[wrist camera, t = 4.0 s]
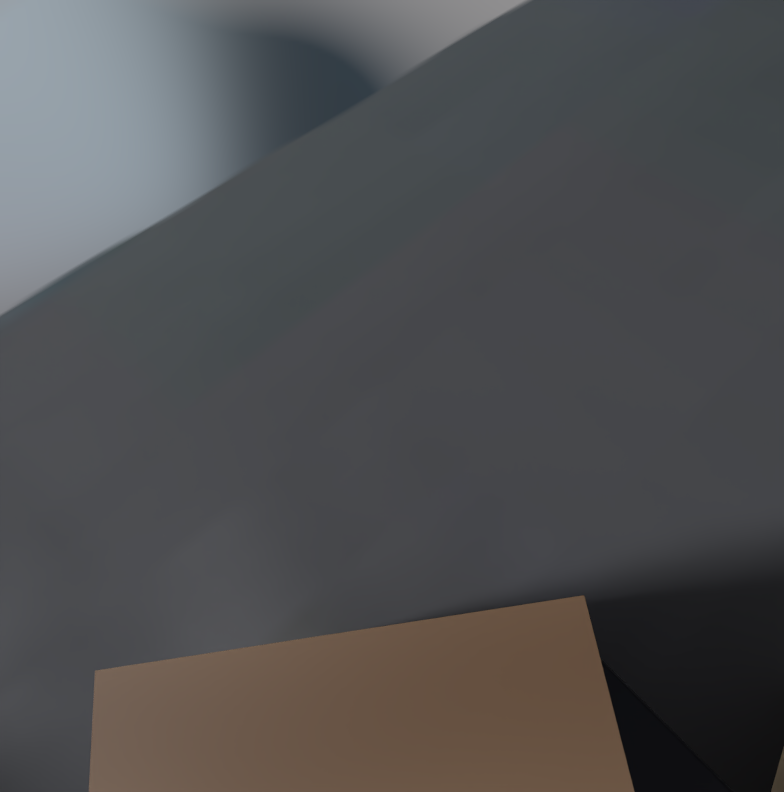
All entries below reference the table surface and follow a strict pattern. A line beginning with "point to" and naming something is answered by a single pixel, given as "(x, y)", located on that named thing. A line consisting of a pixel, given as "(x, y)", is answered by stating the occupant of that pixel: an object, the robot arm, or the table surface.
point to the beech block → (779, 776)
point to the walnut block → (372, 712)
